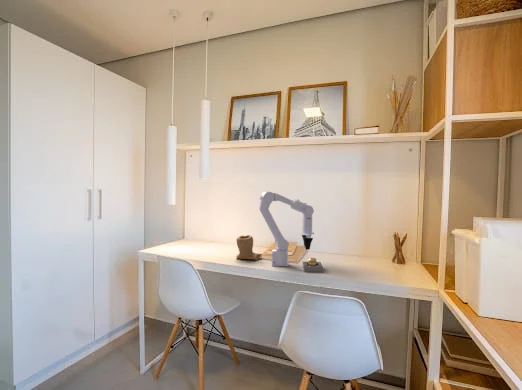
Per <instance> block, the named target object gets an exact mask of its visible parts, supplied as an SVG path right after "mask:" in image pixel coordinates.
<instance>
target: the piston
mask: <svg viewBox="0 0 522 390" xmlns="http://www.w3.org/2000/svg"><path fill="white" fill-rule="evenodd" d="M307 259H308V260H307V262H308V265H312V266H316V262H318V261H317V258H315V257H308V258H307Z"/></svg>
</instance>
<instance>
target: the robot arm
mask: <svg viewBox="0 0 522 390" xmlns="http://www.w3.org/2000/svg"><path fill="white" fill-rule="evenodd" d="M278 201H279V202H280V203H283V204H286V205H289V206H290V208H291V209H293V210H294V211H296V212H299V213H302V219H301V220H302V227H301V228H302V230H301V231H302V232H301V237H302V241H303V246H304V248H305V250H306V251H307V250H308V251H309V250H310V249H311V246H312V245H311V244H312V241H313V239H314V238H313V237H312V235H315V233H314V232H313V214H314V212H315V210H314V207H313V206H311V205H309V204H307V203H306V202H302V201H300V199H293V200H292V199H290V198H287V197H285V196H283V195H281V194H279V193H277V192H271V191H267V190H266V191H264V192H262V193H261V195H260V198H259V207H258V208H259V212H260V213H261V215H262V217H263V219H264V221H265V223H266V224H267V227H268V228H269V231H270V232H271V234H272V236H273V238H274V244H275V245H276V247H275V248H274V249H272V253H271V254H272V255H271V266H272V267H289V266H290V265H289V262H288V260H289V259H288V258H289V249H288V248H289V246H290V244H289V241H288V240H287V239H286V238H285V237H284V236H283V234H282V232H281V231H280V229H279V227H278V225H277V222H276V221H275V219H274V217H273V215H272V213H271V211H270V210H269V209H270V206H271V204H272V203H273V202H278Z"/></svg>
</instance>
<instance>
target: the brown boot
mask: <svg viewBox="0 0 522 390" xmlns="http://www.w3.org/2000/svg"><path fill="white" fill-rule="evenodd" d="M236 244H237V248H238V252H239V253H238V254H237V255H236V259H240V260H259V259H261V258H262V256H263V254H262V253H255V252H254V251H253V247H254V237H253V236H252V235H250V234H247V235H239V236H238V237H237V238H236ZM261 255H262V256H261ZM260 257H261V258H260Z"/></svg>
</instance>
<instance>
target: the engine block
mask: <svg viewBox="0 0 522 390" xmlns="http://www.w3.org/2000/svg"><path fill="white" fill-rule="evenodd" d="M302 269H303V273H324V265H323V264H322V262H321V261H317V262H316V266H312V265H308V261H302Z"/></svg>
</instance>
